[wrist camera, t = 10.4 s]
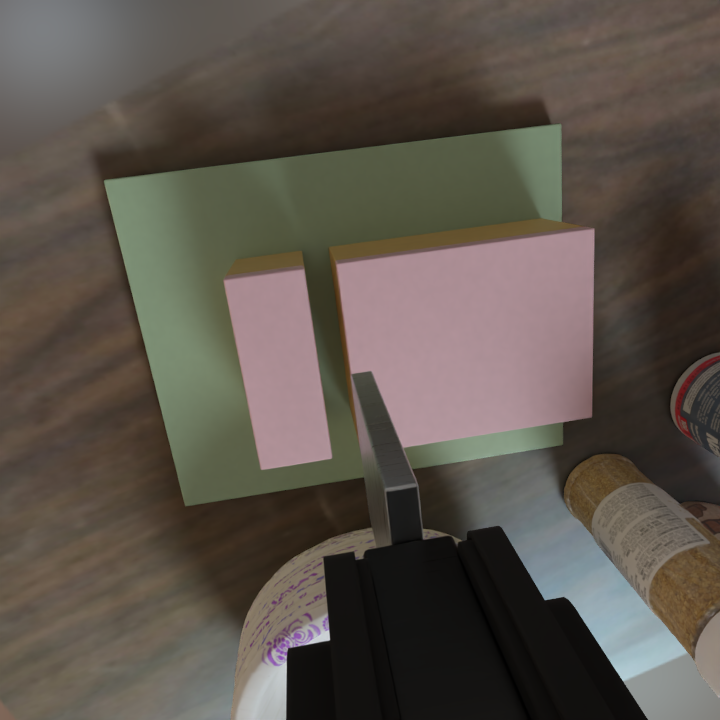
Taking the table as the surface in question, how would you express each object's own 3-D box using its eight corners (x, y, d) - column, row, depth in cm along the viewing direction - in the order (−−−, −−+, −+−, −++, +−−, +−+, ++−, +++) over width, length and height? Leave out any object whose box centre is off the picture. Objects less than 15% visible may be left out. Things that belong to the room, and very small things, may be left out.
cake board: (110, 179, 25) (102, 179, 24) (552, 124, 27) (561, 123, 26) (188, 496, 30) (185, 507, 29) (555, 437, 32) (563, 445, 31)
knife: (331, 376, 15) (443, 953, 4) (390, 367, 15) (665, 904, 4) (352, 520, 17) (480, 1251, 5) (406, 511, 17) (644, 1209, 5)
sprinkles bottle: (645, 499, 34) (860, 698, 21) (573, 532, 34) (743, 749, 21) (624, 436, 32) (841, 609, 19) (549, 470, 32) (716, 665, 20)
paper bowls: (295, 734, 36) (296, 882, 29) (202, 542, 31) (174, 659, 24) (525, 657, 36) (585, 784, 29) (468, 453, 31) (524, 542, 24)
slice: (235, 259, 26) (222, 279, 21) (301, 250, 26) (304, 267, 21) (265, 421, 28) (260, 471, 24) (326, 412, 29) (332, 459, 24)
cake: (328, 246, 26) (336, 263, 21) (541, 218, 27) (595, 227, 22) (350, 408, 29) (361, 454, 24) (544, 378, 29) (592, 417, 25)
